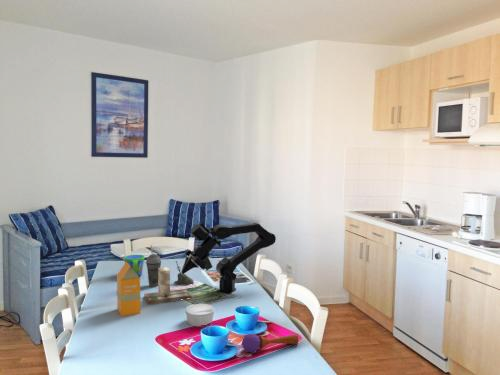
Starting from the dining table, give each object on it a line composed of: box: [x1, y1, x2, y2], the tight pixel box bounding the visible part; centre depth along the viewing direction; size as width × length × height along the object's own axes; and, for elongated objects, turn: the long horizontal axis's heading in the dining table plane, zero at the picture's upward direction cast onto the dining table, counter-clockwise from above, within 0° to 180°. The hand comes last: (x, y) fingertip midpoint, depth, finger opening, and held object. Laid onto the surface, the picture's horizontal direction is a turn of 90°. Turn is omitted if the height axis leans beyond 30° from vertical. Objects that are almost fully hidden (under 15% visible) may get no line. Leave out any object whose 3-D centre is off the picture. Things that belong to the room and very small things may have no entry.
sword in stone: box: [174, 260, 195, 286], centre depth 213 cm, size 10×8×12 cm
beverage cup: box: [145, 244, 162, 288], centre depth 208 cm, size 7×7×20 cm
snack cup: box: [123, 254, 146, 277], centre depth 224 cm, size 16×10×10 cm
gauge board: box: [143, 288, 192, 305], centre depth 191 cm, size 19×10×2 cm, turn 113°
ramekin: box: [185, 303, 215, 327], centre depth 165 cm, size 11×11×5 cm
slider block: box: [157, 266, 171, 297], centre depth 189 cm, size 4×8×11 cm, turn 23°
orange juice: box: [116, 261, 141, 317], centre depth 174 cm, size 8×9×20 cm
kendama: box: [241, 333, 300, 353], centre depth 144 cm, size 6×6×20 cm
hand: (182, 273), depth 193 cm, fingers closed
